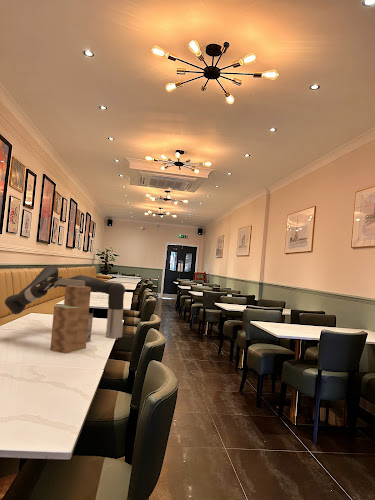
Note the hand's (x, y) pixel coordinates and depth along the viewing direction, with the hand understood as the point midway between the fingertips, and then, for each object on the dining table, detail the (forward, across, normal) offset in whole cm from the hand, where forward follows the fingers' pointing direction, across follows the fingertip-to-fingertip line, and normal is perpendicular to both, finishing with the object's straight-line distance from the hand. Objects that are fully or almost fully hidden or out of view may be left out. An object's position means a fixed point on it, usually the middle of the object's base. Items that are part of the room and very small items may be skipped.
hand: (59, 278), depth 184 cm
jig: (-12, +4, +34) cm, 37 cm away
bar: (+2, 0, +5) cm, 5 cm away
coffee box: (-19, +23, +31) cm, 43 cm away
